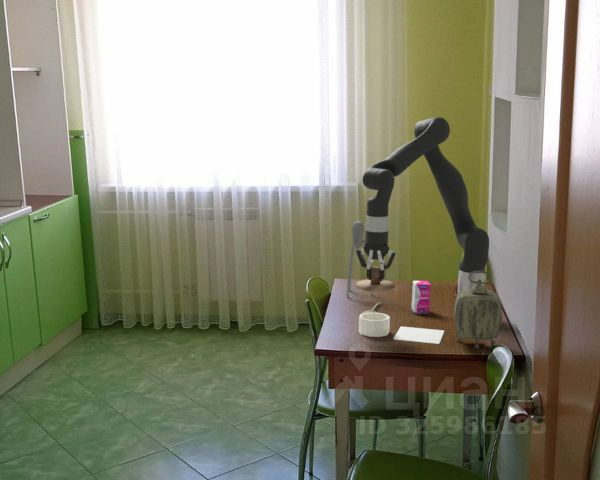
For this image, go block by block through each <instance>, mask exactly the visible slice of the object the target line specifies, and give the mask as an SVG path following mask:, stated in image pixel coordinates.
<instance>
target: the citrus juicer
mask: <svg viewBox="0 0 600 480" xmlns="http://www.w3.org/2000/svg"><path fill="white" fill-rule="evenodd" d="M364 232H365V227H364V223H363V222H362V221H360V220H357V221H353V223H352V226H351V237H352V243H351V249H350V256H349V263H348V265H349V266H348V271H347V272H348V273H347V283H346V284H347V285H346V286H347V287H346V298H349V296H350V292H351V290H352V270H353V261H354V260H353V259H354V252H356V251H357V250H358V249H361V248H360V247H361V246H363V247H364V246H365V239H363V238H364ZM354 250H355V251H354ZM365 254H366V253H365ZM366 259H367V261H368V255H367V254H366ZM369 293H370V296H373V291H369Z"/></svg>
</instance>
